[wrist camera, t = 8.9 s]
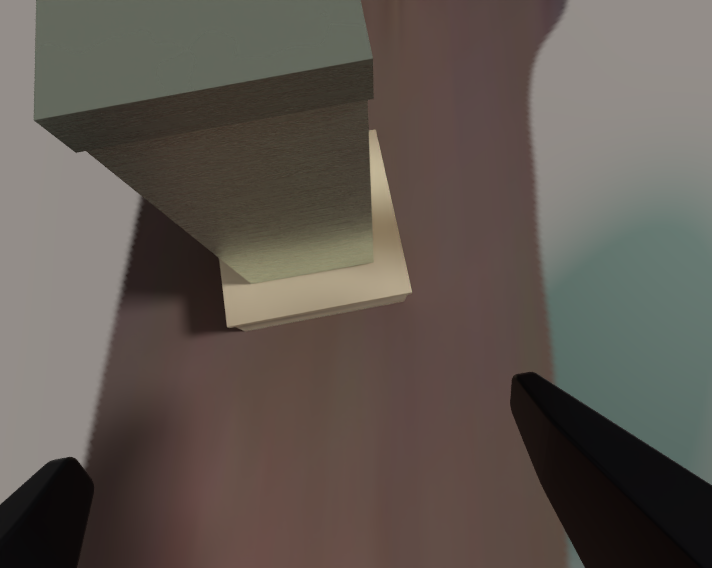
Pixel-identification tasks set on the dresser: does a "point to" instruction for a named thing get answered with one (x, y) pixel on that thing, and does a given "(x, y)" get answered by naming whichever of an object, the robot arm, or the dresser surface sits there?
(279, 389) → the dresser surface
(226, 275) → the jewelry box
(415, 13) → the dresser surface
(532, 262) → the dresser surface
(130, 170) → the green lidded box
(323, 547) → the dresser surface
